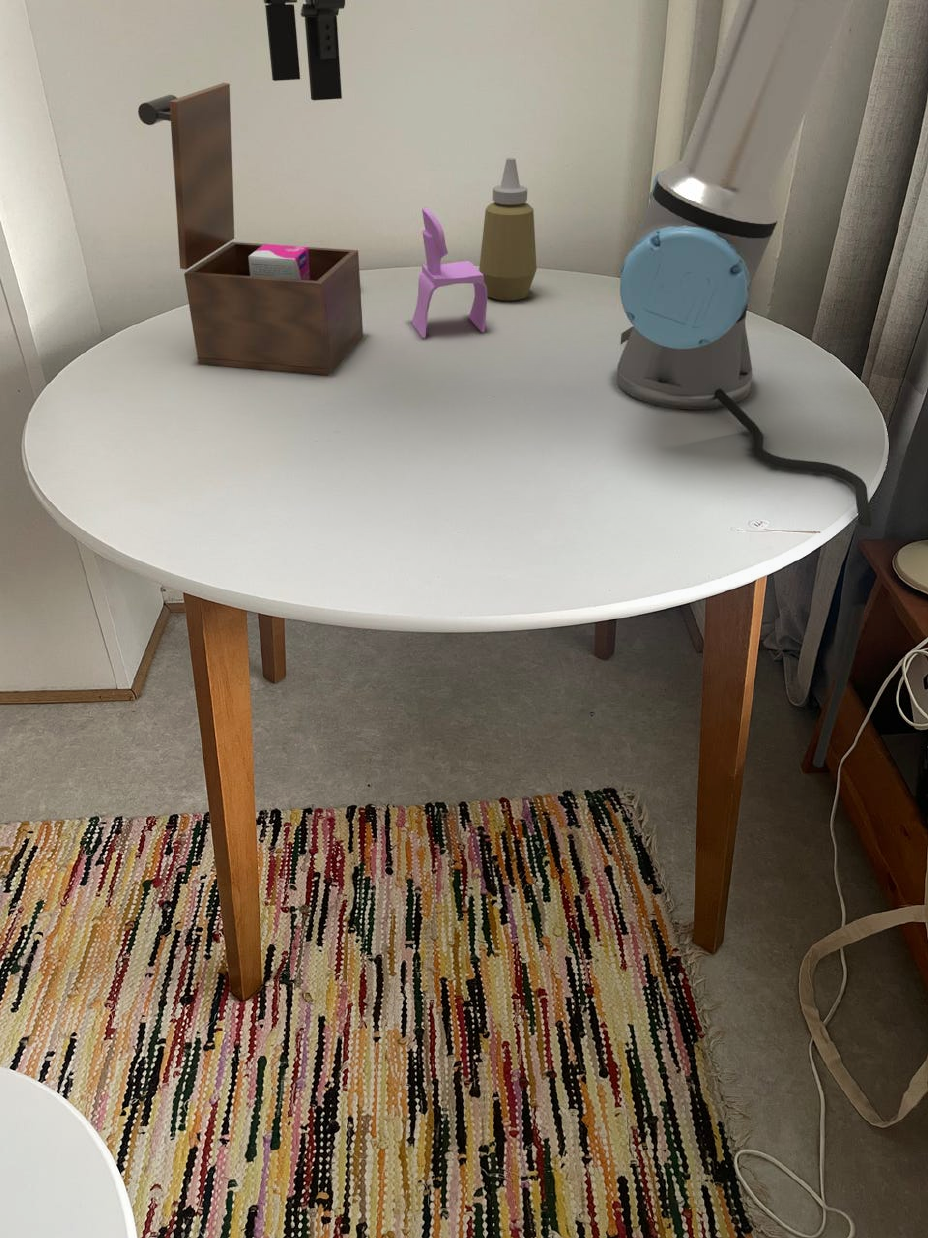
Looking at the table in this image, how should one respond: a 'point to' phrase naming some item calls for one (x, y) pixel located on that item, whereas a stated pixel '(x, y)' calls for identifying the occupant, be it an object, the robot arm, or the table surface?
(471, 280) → the toy chair
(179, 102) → the lid
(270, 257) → the supplement box
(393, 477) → the table surface
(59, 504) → the table surface
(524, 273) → the squeeze bottle
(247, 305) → the chest
